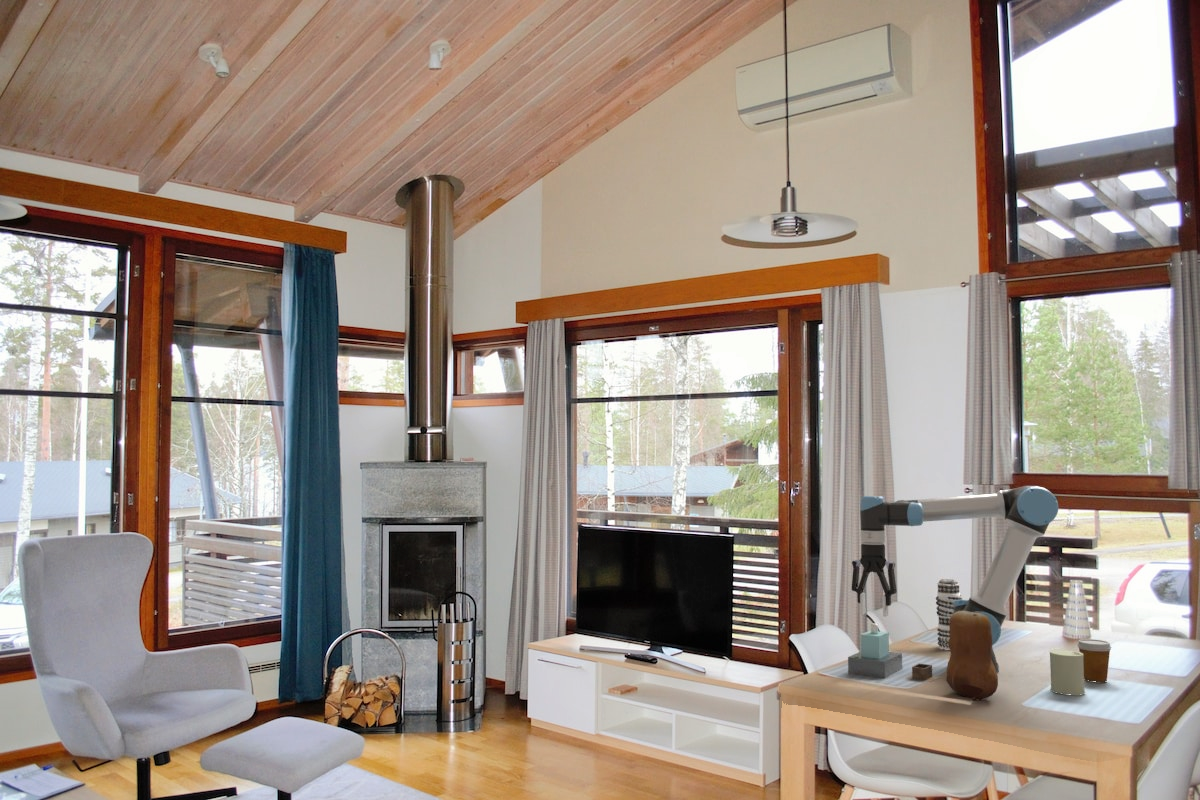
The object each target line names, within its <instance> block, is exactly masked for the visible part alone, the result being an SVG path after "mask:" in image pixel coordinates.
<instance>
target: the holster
mask: <svg viewBox="0 0 1200 800" xmlns="http://www.w3.org/2000/svg"><path fill="white" fill-rule="evenodd" d="M911 673H912V674H910V675H908V676H906V677H905V679H909V680H916V681H921V682H922V681H923V682H930V683H932V682H933V681H935V680H937V679H938V678H939V676H937V675H933V665H932V664H926V663H917V664H914V665H913V666H912V667H911Z"/></svg>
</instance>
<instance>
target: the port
mask: <svg viewBox="0 0 1200 800" xmlns="http://www.w3.org/2000/svg"><path fill="white" fill-rule="evenodd" d="M847 670H848V671H847V673H848V675H849V676H850V675H852V674H853V675H858V676H859V675H860V676H867V677H873V678H880V679H887V678H888V677H891V676H893V675H894V674H896V673H897V672H898V673H899V672H900V671H901V670H903V653H901V652H893V651H889V654H888V655H886V656H884V657H882V658H880V659H877V658H869V657H861V651H858V652H856V653H854V654H852V655H849V656H848V657H847Z"/></svg>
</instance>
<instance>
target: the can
mask: <svg viewBox="0 0 1200 800" xmlns="http://www.w3.org/2000/svg"><path fill="white" fill-rule="evenodd" d="M1049 663H1050V664H1049V665H1050V667H1049V668H1050V691H1051V690H1052V691H1054V692H1057V693H1062V694H1071V695H1080V694H1084V693H1085V694H1086V691H1085V680H1084V667H1083V653H1081V652H1080V651H1077V650H1071V649H1052V650H1050V651H1049ZM1052 691H1051V692H1052ZM1054 692H1053V693H1054ZM1057 693H1056V694H1057ZM1062 694H1061V695H1062ZM1085 694H1084V695H1085ZM1080 696H1081V695H1080Z"/></svg>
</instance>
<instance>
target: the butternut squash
mask: <svg viewBox="0 0 1200 800" xmlns="http://www.w3.org/2000/svg"><path fill="white" fill-rule="evenodd" d="M949 626H950V634H949V636H950V639H949V642H948V646H949V648H950V657H949V659H948V662H947V665H946V677H945V681H946V682H947V684H948V686H949V687H950V688H951V689H952V690H953V692H955V693H956V694H958V695H959V696H962V697H967V698H973V699H972V701H980V700H981V701H982V700H984V699H988V698H990V697H992V696H993V695H994V694H995V692H997V689H998V687H999V686H998V685H999V677H998V675H999V674H998V673H997V672H996V669H995V667H994V664H993V662H992V660H991V648H993V646H992V633H991V625H990V621H989V619H988V617H987V616H985V615H984V614H981V613H973V612H969V611H958V612H955V613H954V614H953V615H952V616H951V618H950V621H949Z"/></svg>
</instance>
